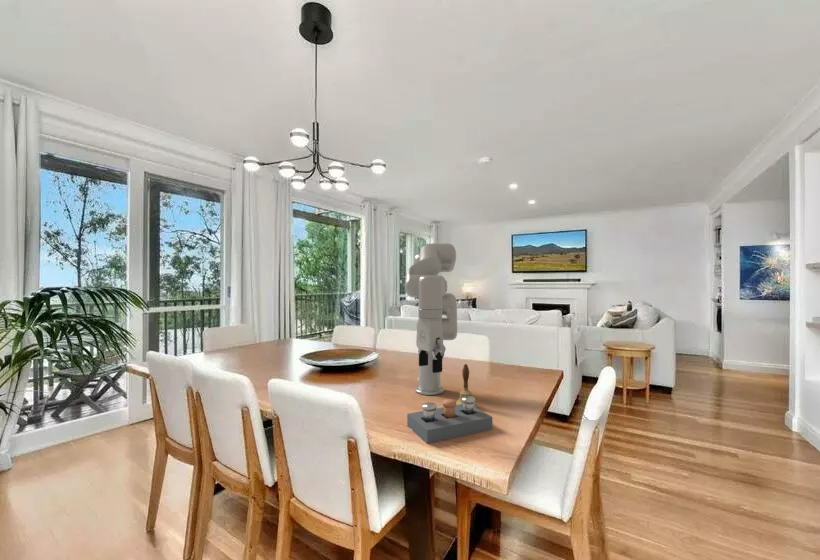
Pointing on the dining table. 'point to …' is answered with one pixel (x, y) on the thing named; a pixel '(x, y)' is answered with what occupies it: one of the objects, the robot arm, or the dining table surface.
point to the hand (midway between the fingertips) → (430, 368)
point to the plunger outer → (429, 411)
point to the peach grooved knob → (449, 408)
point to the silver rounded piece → (468, 405)
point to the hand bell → (465, 385)
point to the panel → (448, 424)
